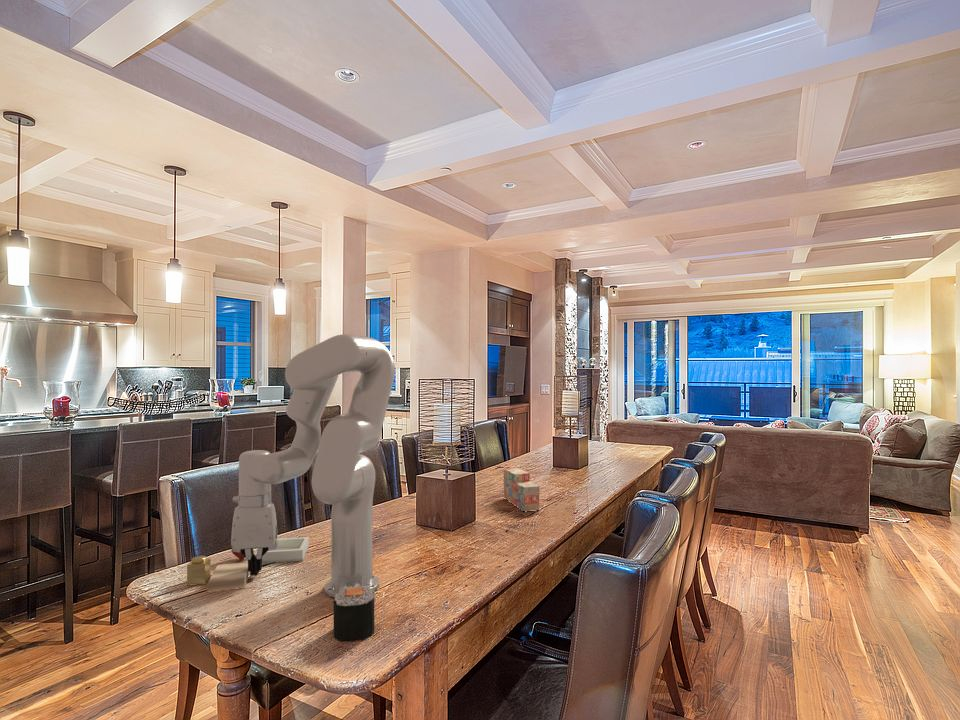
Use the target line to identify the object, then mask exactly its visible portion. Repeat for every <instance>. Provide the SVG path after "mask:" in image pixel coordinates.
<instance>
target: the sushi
mask: <svg viewBox="0 0 960 720" xmlns="http://www.w3.org/2000/svg"><path fill="white" fill-rule="evenodd" d="M375 592H376V590H375V591H374V590H373V588H371V589H370V588H369V587H368V586H363V585H362V586H360V585H359V584H358V587H356V586H354V587H353V588H352V586H350V587H347V588H346V589H343V588H342V591H341V590H340V591H339V592H338V593H337V595H335V596H334V597H333V605H332V606H333V608H332V609H333V639H335V640H336V641H338V642H342V643H343V642H344V643H345V642H355V641H356V642H357V641H361V640H362V641H363V640H366V639H369V638H370V637H371V636H373V635H374V633H375V596H376V593H375Z"/></svg>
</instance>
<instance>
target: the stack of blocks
mask: <svg viewBox="0 0 960 720" xmlns="http://www.w3.org/2000/svg"><path fill="white" fill-rule="evenodd" d="M530 477H531V476H530V472H527V471H525V470H524V469H521V468H518V467H511V468H503V499H504V498H506V499H507V500H509V501H510V502H511V503H513V504H515V505H516V506H518V507H519V508H520V509H522V510H523V511H530V510H539V511H540V485H538V484H536V483H534V482H533V481H531V479H530ZM520 509H519V510H520Z"/></svg>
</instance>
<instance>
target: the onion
mask: <svg viewBox="0 0 960 720" xmlns="http://www.w3.org/2000/svg"><path fill="white" fill-rule="evenodd" d="M254 549H255V548H253V550H254ZM230 550H231V553H232V554H233V555H234V556H235V557H237V558H238V559H240V560H241V559H243V560H245V559H246V557H245V556H244V555H243V554H242V553H240V552H239V553H238V552H233V551H232V546H231V545H230ZM244 558H245V559H244Z"/></svg>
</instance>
